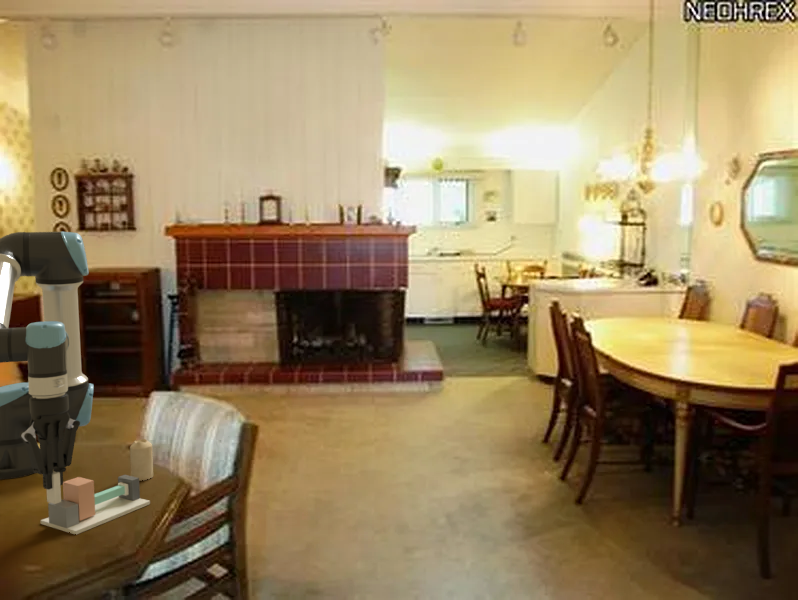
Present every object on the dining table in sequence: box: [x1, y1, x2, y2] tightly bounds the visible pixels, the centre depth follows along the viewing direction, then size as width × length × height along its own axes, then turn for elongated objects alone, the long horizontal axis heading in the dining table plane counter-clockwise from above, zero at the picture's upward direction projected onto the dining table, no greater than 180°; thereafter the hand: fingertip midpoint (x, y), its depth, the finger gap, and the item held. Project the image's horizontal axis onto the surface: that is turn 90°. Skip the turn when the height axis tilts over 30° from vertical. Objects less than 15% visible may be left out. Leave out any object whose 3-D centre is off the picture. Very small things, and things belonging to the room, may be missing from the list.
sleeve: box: [62, 476, 95, 521], centre depth 161 cm, size 5×4×8 cm
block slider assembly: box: [40, 474, 151, 535], centre depth 165 cm, size 12×20×6 cm, turn 150°
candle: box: [129, 438, 154, 482], centre depth 190 cm, size 6×6×10 cm
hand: (54, 501), depth 156 cm, fingers closed
